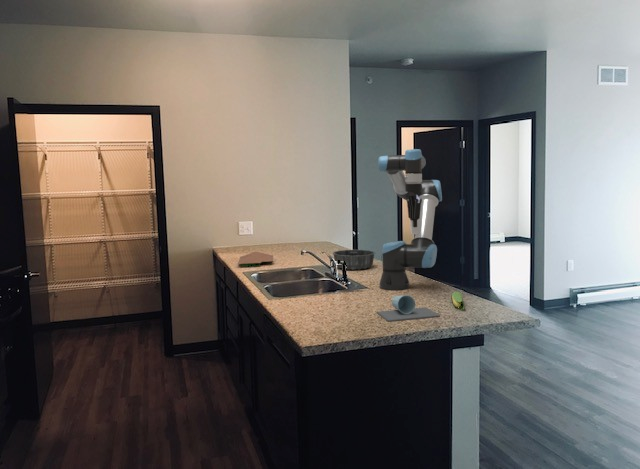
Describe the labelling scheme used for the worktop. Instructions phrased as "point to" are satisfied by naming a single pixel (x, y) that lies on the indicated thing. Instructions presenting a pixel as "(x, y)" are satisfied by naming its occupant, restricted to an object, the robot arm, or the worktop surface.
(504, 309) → the worktop surface
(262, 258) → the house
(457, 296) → the edible corn
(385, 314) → the mat
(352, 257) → the bundt pan
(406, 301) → the cup
